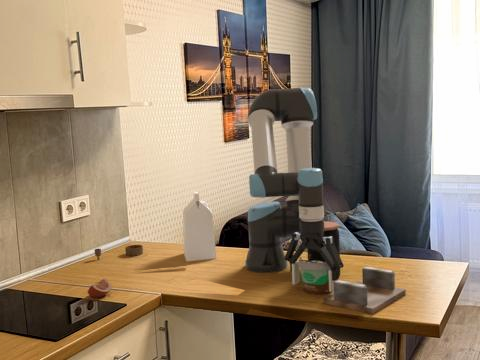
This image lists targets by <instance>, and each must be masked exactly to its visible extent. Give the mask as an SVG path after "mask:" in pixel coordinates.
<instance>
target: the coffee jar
mask: <svg viewBox="0 0 480 360" xmlns="http://www.w3.org/2000/svg"><path fill="white" fill-rule="evenodd" d="M338 228H340V224H339V223H338V222H334V221H325V220H324V237H330V236H333V239H334V244H335V247H336V249H337V251H338V254H339V256H340V257H341V253H340V251H341V247H340V231H339V230H338ZM324 244H325V241H324ZM325 246H326V249H327V250H328V248H327V245H326V244H325ZM320 248H322V247H320ZM306 250H307V260H309V261H312V260H319V261H323V262H326V261H325V260H324V258H323V257H322V256H321V254H320V253H319V252H318V251H317V250H312V249H307V248H306ZM328 252H329V251H328ZM340 276H341V268H340V269H338V278H339V277H340Z"/></svg>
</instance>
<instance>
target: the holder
mask: <svg viewBox="0 0 480 360" xmlns="http://www.w3.org/2000/svg"><path fill="white" fill-rule="evenodd" d="M361 274H362V277H361V278H362V281H360V280H357V281H355V282H351V281H346V280H345V281H344V280H340V279H338V280H336V281H335V282H333V283H334V291H333V293H331V294H329V295H327V296H325V297H324V298H323V299H322V300H323V304H325V305H329V306H335V307H339V308H344V309H349V310H352V311H357V312H362V313H367V314H371V315H374V314H375V313H377V312H380V310H382V309H383V308H386V307H387V306H389V305H390V304H392V303H394V302H395V301H398V300H399V299H400V298H402V297H403V296H405V295H406V294H407V293H406V292H407V291H406V290H407V289H406V288H401V287H395V285H396V283H395V282H396V281H395V272H394V270H389V269H382V268H377V267H370V266H365V267H363V268H362V273H361Z"/></svg>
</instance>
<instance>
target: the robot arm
mask: <svg viewBox="0 0 480 360" xmlns="http://www.w3.org/2000/svg"><path fill="white" fill-rule="evenodd" d="M317 107H318V106H317V101H316V98H315V94H314V91H313V90H312V89H311V88H309V87H291V88H278V89H275V88H272V89H271V88H270V89H266V90H264V91H262V92H261V93H259V94H258V95H257V96H256V97H255V99H253V100H252V102H251V104H250V106H249V108H248V111H247V112H248V113H247V123H248V125H249V126H250V128H251V130H250V131H251V143H252V157H253V172H254V173H253V174H249V176H248V182H249V183H248V185H249V186H248V187H249V195H250V197H252V198H261V199H262V198H263V199H264V198H274V197H287V198H286V199H285V205H282V204H281V203H280V201H277V200H275V201H265V202H261V203H257V204H254V205H252V206H250V207H249V208H248V210H247V222H248V241H249V242H248V243H249V247H248V251H247V255H246V259H245V263H244V264H245V269H246V270H247V271H249V272H254V273H260V274H261V273H263V274H264V273H265V274H267V273H277V272H280V271H283V270H286V269H288V262H289V270H290V273H291V276H292V277H291V278H292V282H291V283H292V285H297V284H298V283H300V267H299V266H298V263H299V259H300V257H301V255H303V253H304V252H305V251H306V250H307V249H312V250H317V251H318V252H319V253H320V254H321V256H322V257H323V258H324V260H325V261H326V263H327V264H328V266H329V267H330V269H331V270H329V292H331V293H332V292H334V283H333V282H335V281H337V280H339V277H338V269H340V270H341V269H342V268H344V265H345V264H344V263H343V261H342V259H341V255H340V256H339V254H338V251H337V249H336V247H335V244H334V239H333V236H330V237H324V221H325V220H324V217H325V214H324V213H325V210H324V209H325V208H324V206H325V205H324V178H323V170H322V169H321V168H317V167H312V165H313V164H312V149H311V146H312V145H311V134H310V133H311V132H310V129H311V128H312V126H313V125H314V121H315V120H317V119H318V108H317ZM275 122H281V123H280V125H281V126H280V127H282V128H283V130H285V136H286V138H285V139H286V153H287V154H286V155H287V170H288V171H287V172H278V165H277V157H276V147H275V146H276V145H275V136H274V135H275V134H274V124H275ZM282 239H291V240H290V242H289V245H288V248H287V250H286V253H285V251H284V248H283V243H282ZM299 241H301V243H300V244H299V245H298V243H299ZM324 241H325V244H326V245H327V248H328V250H327V249H326V246H325V244H324ZM297 246H298V248H297ZM320 247H322V248H320ZM296 248H297V250H296ZM328 251H329V252H328Z"/></svg>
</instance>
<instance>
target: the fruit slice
mask: <svg viewBox="0 0 480 360" xmlns="http://www.w3.org/2000/svg"><path fill="white" fill-rule="evenodd" d="M111 290H112V285H111V283H110V282H109V281H108V279H107V278H103V279H101V280H100V281H99V282H95V283H93V284H92V285H91V286H89V289H88V290H87V294H88V295H89V296H90V297H93V298H101V297H104V296H105V295H108V294H109V292H111Z"/></svg>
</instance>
